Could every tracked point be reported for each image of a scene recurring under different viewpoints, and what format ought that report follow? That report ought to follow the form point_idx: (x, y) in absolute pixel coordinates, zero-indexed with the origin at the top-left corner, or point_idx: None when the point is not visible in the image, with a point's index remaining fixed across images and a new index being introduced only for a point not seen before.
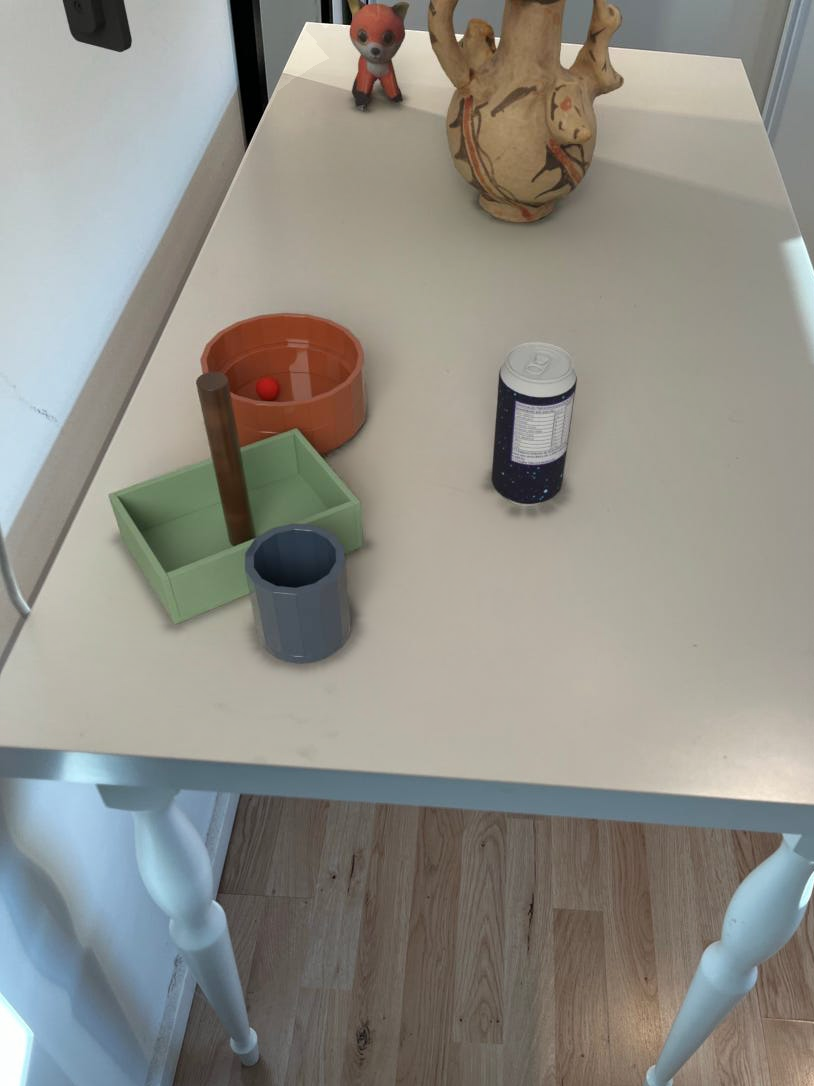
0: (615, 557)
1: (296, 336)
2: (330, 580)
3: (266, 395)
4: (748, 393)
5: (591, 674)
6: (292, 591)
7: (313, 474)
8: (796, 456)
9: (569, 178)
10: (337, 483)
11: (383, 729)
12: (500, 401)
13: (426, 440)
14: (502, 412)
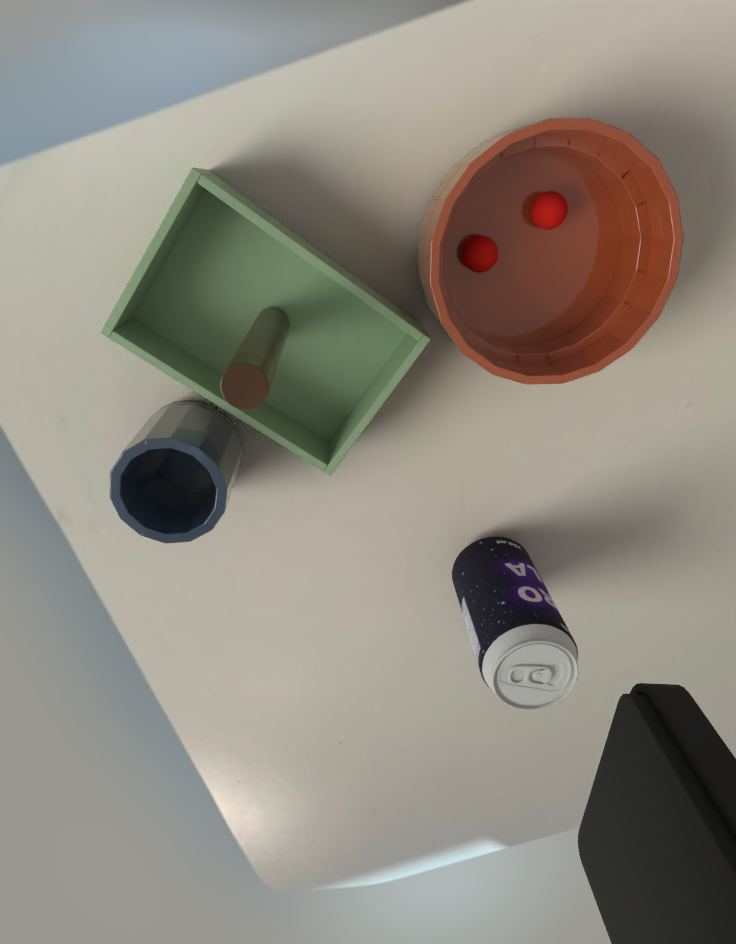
0: (420, 665)
1: (654, 218)
2: (157, 540)
3: (532, 217)
4: (725, 709)
5: (270, 685)
6: (121, 514)
7: (386, 373)
8: None
9: None
10: (349, 437)
11: (123, 563)
12: (493, 616)
13: (536, 437)
14: (485, 613)
